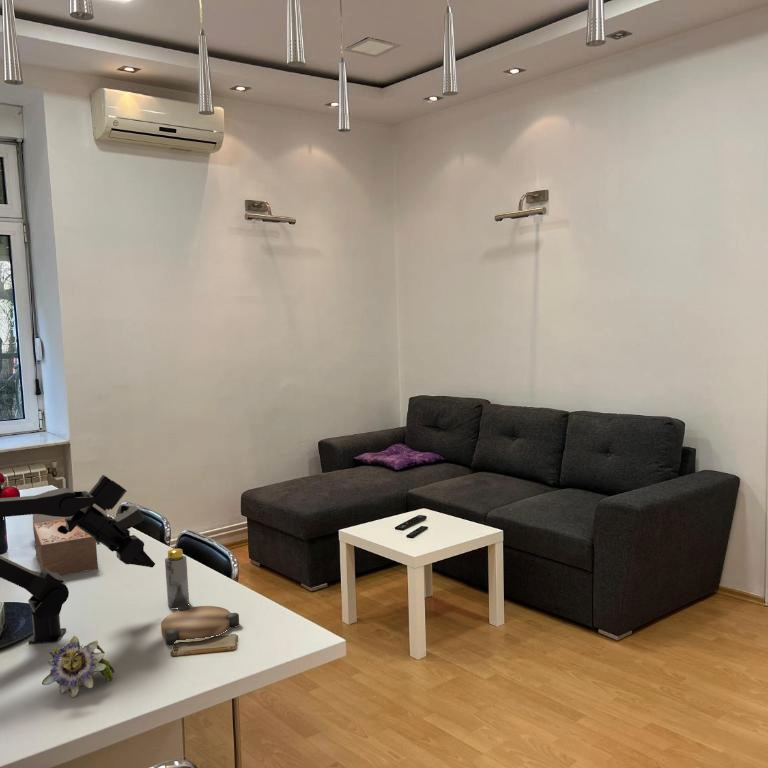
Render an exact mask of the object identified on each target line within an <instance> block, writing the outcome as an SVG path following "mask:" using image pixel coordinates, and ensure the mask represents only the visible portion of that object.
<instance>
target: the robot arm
mask: <svg viewBox="0 0 768 768" xmlns="http://www.w3.org/2000/svg"><path fill="white" fill-rule="evenodd" d="M127 492H128V490H127V489H125V488H124V487H123V486H121V485H120V484H118V483H117V482H116V481H114V480H112V479H110V478H109V477H108V476H107V475H105V474H102V475H101V476H100V477H99V479H98V481H97V482H96V484H95V485H94V486H93V487H92V488H91V490H90V491H87V490H86V491H84V490H82V491H81V490H80V491H79V490H76V491H74V490H72V489H70V488H67V487H60V488H57V489H52V490H48V491H46V492H45V491H44V492H42V493H38V494H36V495H28V496H14V497H0V518H6V517H19V516H30V515H32V516H33V514H42V515H48V516H56V517H70V518H66V519H65V522H66V529H67V530H68V531H69V532H71V531H72V530H73V529H74V528H75V527H76V526H77V527H79V528H80V529H81V530H83V531H84V532H86V533H87V534H89V535H90V536H92V537H93V538H94V539H95V540H96V542H97V541H98V543H100V544H101V545H103V546H105V547H106V548H107V549H108V550H110V551H111V552H112V553H114V552H115V553H116V558H117V559H118V560H119V561H120V562H122V563H123V564H125V565H134V566H141V567H147V568H153V567H155V565H156V563H155V562H154V560H153V559H152V558H151V557H150V556H149V555H148V554H147V553H146V551H144V550H145V549H144V547H145V542H144V541H143V540H141V539H140V538H139V537H137V535H135V534H132V535H131V534H130V533H131V531H130V530H129V529H132V528H133V527H134V526H136V525H137V524H139V523H142V522H144V520H145V517H144V515H143V513H142V512H141V511H140V508H139V507H137V506H136V505H132V504H131V505H129V506H127V505H126V504H124V503H123V504H121V505H120V506H119V507H118V513H117V515H116V516H115V517H111V515H109V516H108V515H107V516H106V515H105V514H103V513H102V512H101V511H99V510H98V509H96V508H95V507H94V506H93V505H94V504H96V505H97V506H99V507H100V508H101V509H103V510H104V511H106V510H107V511H110V510H113V509H114V508H115V506H116V505H118V503H119V501H120V500H122V498H123V497H124V495H126V493H127ZM71 516H72V517H71ZM0 579H3V580H5V581H7V582H10V583H11V584H14V585H16V586H18V587H20V588H22V589H25V591H27V592H28V593H29V594H31V596H30V598H29V599H28V601H27V602H28V604H29V605H30V608H31V610H32V612H31V619H32V621H31V622H32V630H33V631H32V632H33V635H32V636H31V637H30V639H29V640H28V641H27V642H28V644H40V643H41V644H42V643H56V642H58V641H59V640H60V638H62V637H63V635H64V634H65V633H66V631H67V628H66V627H64V628H61V620H60V619H61V618H60V614H61V610H62V608H63V607H62V606H63V605H64V604H65V603H66V602H67V600H68V598H69V593H70V592H69V588H68V586H67V584H66V583H65V582H64V579H63V578H62V575H61V576H60V575H59V574H58V573H54V572H51V571H49V570H48V569H47V568H45V567H43V568H42V570H41V569H40V571H36V570H31V569H29V568H27V567H25V566H24V565H21V564H18V563H17V562H14V561H12V560H9V559H8V558H6V557H4V556H3V555H2V556H1V555H0Z"/></svg>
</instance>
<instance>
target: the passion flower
mask: <svg viewBox="0 0 768 768" xmlns="http://www.w3.org/2000/svg"><path fill="white" fill-rule="evenodd" d="M80 643H81V642H80V639H79V638H78V636H76V635H73V636H72V637H71V639H70V641H69V643H67V644H66V645H63V648H60V647H55V648H54V649H53V652H52V651H51V650H49V652H48V654H49V655H51V657H52V658H51V659H49V660H48V661H47V663H48V665H50V666H52V667H51V669H50V672H49V674H48V675H47V676H46V677H45V678H43V680H42V682H41V685H43V686H47V685H51V684H53V683H57V684H58V685H59V686H58V690H59V694H60V695H64V694H65V693H67V692H69V694H70V696H71V698H76V697H77V695H78V694H79V691H80V686H82V685H83V686H85V688H87V689H92V688H93V687H94V684H95V683H94V682H95V681H94V673H96V672H100V673H101V674H102V675H103V677H104V678H105V680H107V681H108V682H112V680H113V674H115V672H116V671H115V668H114V667H113V666H112V665H111V664H110V662H109V661H108V660H106V659H105V658H104V657H105V654H106V653H105V650H104V649H103V648H101V646H100V644H99V642H98V640H94V641H91V642H89V643H88V644H86V645H84V644H82V645H81V644H80ZM83 645H84V646H83ZM96 649H97V650H98V651H99V652H96V651H95V650H96Z"/></svg>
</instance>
